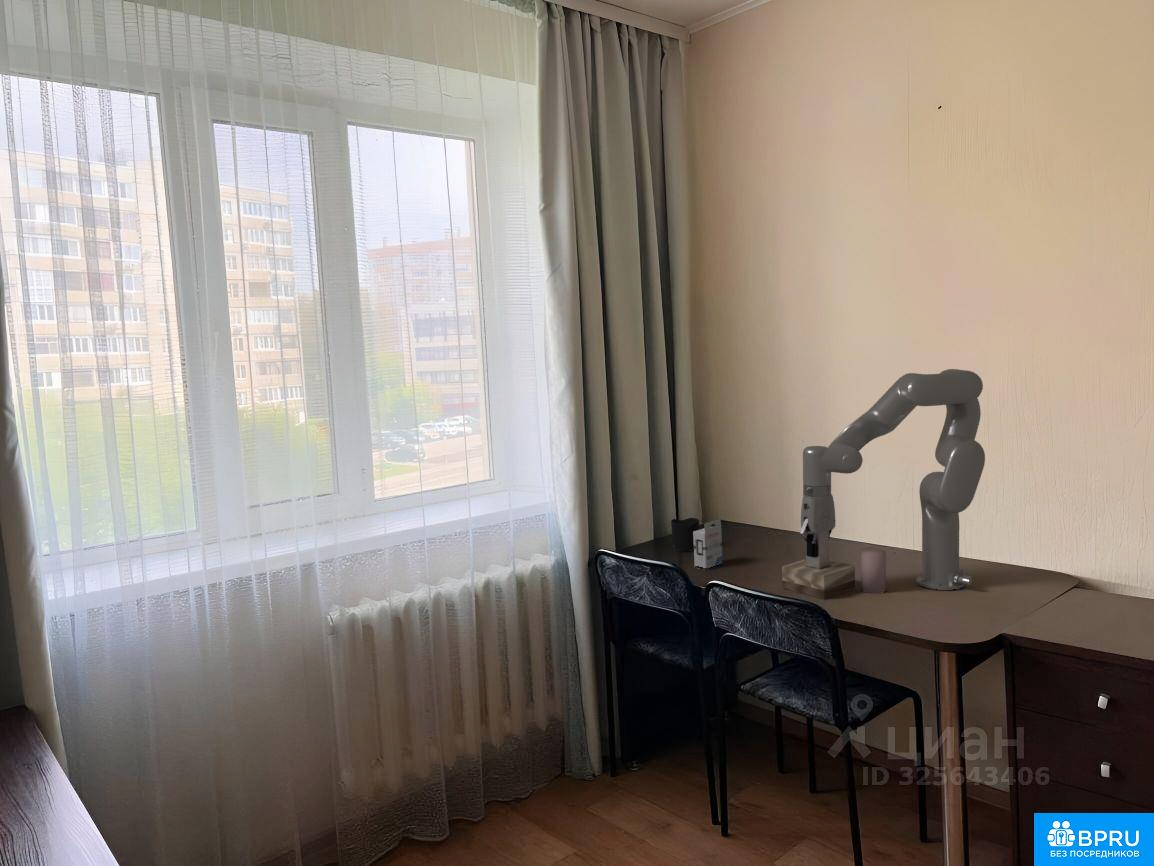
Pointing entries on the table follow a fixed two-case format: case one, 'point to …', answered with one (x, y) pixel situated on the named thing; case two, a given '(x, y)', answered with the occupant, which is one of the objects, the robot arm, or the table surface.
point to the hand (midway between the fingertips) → (817, 554)
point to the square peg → (820, 552)
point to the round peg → (873, 570)
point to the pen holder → (684, 533)
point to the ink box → (708, 545)
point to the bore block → (818, 579)
